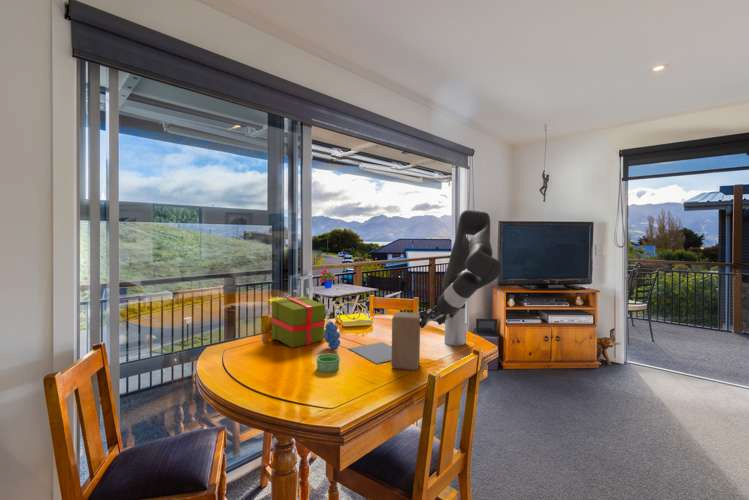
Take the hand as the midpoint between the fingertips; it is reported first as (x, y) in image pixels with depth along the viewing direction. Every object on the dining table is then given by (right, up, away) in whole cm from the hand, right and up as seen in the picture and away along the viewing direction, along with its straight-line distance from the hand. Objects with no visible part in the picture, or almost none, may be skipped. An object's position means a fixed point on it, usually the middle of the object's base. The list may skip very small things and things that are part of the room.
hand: (429, 324), depth 132 cm
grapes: (-39, -17, +30) cm, 52 cm away
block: (-8, -19, +12) cm, 23 cm away
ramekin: (-37, -19, +7) cm, 42 cm away
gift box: (-58, -16, +44) cm, 75 cm away
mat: (-18, -18, +27) cm, 36 cm away
